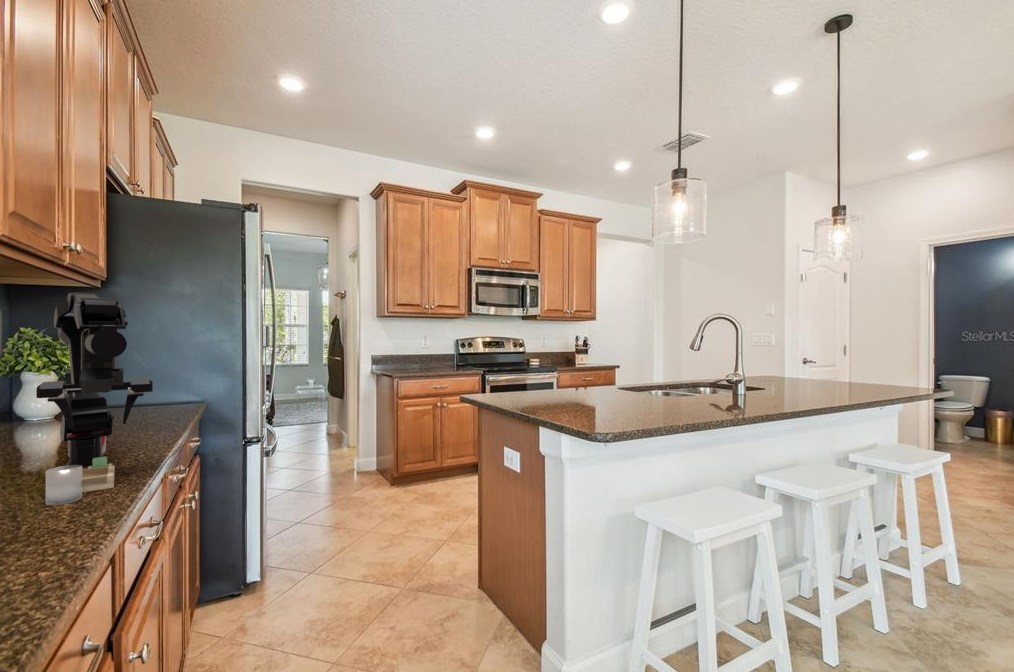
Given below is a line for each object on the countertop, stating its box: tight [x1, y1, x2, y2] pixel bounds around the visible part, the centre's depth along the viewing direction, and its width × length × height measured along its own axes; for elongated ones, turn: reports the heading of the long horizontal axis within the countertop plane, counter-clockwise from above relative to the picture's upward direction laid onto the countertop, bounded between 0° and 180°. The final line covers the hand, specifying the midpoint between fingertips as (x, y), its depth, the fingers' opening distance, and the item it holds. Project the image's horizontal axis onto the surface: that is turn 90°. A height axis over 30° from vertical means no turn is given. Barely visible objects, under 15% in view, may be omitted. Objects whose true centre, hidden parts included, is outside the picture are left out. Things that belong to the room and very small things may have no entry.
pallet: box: [82, 464, 115, 493], centre depth 95 cm, size 9×9×2 cm
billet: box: [45, 464, 83, 506], centre depth 87 cm, size 5×5×6 cm
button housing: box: [87, 463, 113, 469], centre depth 102 cm, size 4×4×2 cm
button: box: [92, 456, 108, 468], centre depth 102 cm, size 2×2×3 cm
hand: (98, 426), depth 102 cm, fingers open, 8 cm apart
